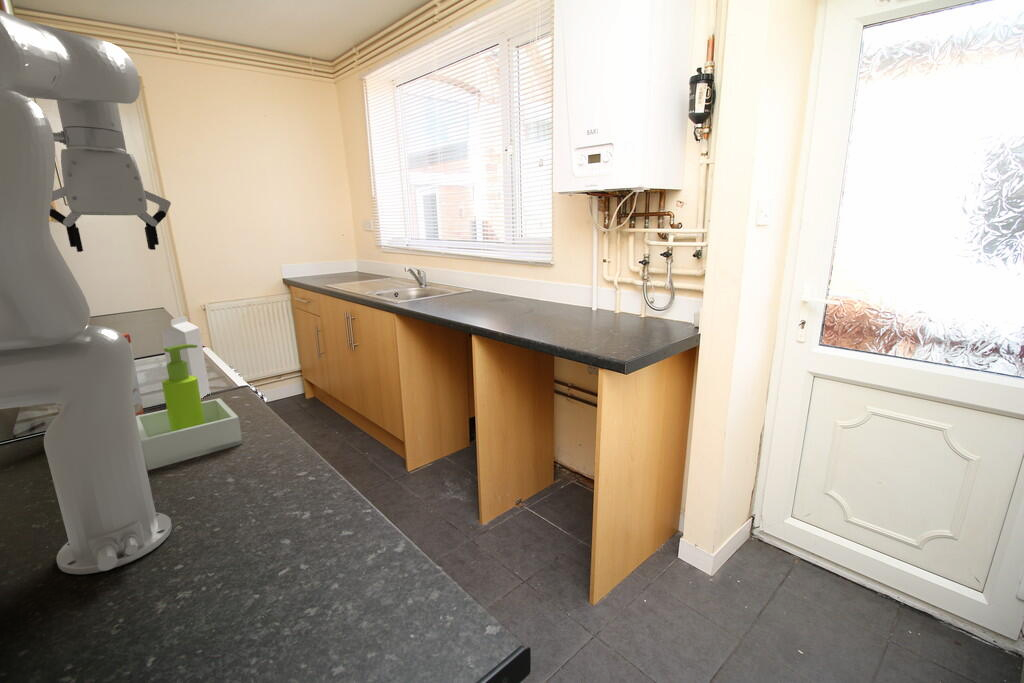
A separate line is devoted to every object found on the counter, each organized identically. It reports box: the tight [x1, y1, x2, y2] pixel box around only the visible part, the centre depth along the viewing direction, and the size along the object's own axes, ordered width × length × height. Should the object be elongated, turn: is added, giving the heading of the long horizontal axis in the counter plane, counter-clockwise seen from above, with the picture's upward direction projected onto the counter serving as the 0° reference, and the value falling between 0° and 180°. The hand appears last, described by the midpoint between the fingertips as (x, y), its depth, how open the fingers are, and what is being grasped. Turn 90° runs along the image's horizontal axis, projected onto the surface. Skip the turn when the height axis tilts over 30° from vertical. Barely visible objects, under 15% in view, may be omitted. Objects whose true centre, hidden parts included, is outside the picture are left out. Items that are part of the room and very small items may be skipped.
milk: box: [160, 315, 211, 398], centre depth 124 cm, size 6×6×22 cm
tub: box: [136, 397, 244, 471], centre depth 99 cm, size 16×16×6 cm
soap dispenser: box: [161, 344, 205, 432], centre depth 98 cm, size 6×7×20 cm
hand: (117, 250), depth 81 cm, fingers open, 9 cm apart
